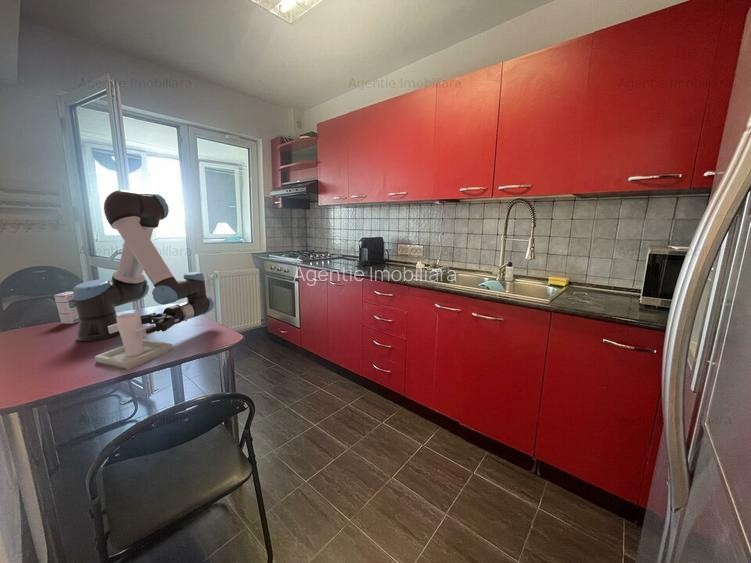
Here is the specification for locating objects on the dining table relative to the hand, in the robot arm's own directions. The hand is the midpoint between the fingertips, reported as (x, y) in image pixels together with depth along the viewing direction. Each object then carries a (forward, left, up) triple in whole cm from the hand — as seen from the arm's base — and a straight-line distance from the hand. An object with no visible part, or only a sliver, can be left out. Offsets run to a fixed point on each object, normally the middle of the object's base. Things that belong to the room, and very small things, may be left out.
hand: (121, 332), depth 104 cm
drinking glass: (0, +3, -10) cm, 10 cm away
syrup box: (-67, +18, -11) cm, 70 cm away
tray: (0, +3, -10) cm, 11 cm away
